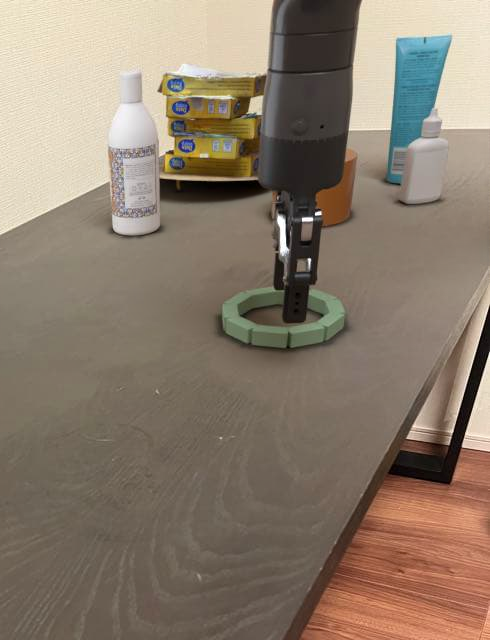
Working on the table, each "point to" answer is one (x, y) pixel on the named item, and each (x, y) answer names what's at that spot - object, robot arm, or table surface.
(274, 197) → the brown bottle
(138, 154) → the bath foam
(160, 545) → the table surface
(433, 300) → the table surface
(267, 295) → the rubber ring
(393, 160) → the tube
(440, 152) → the eye dropper bottle
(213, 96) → the stacked yellow boxes
